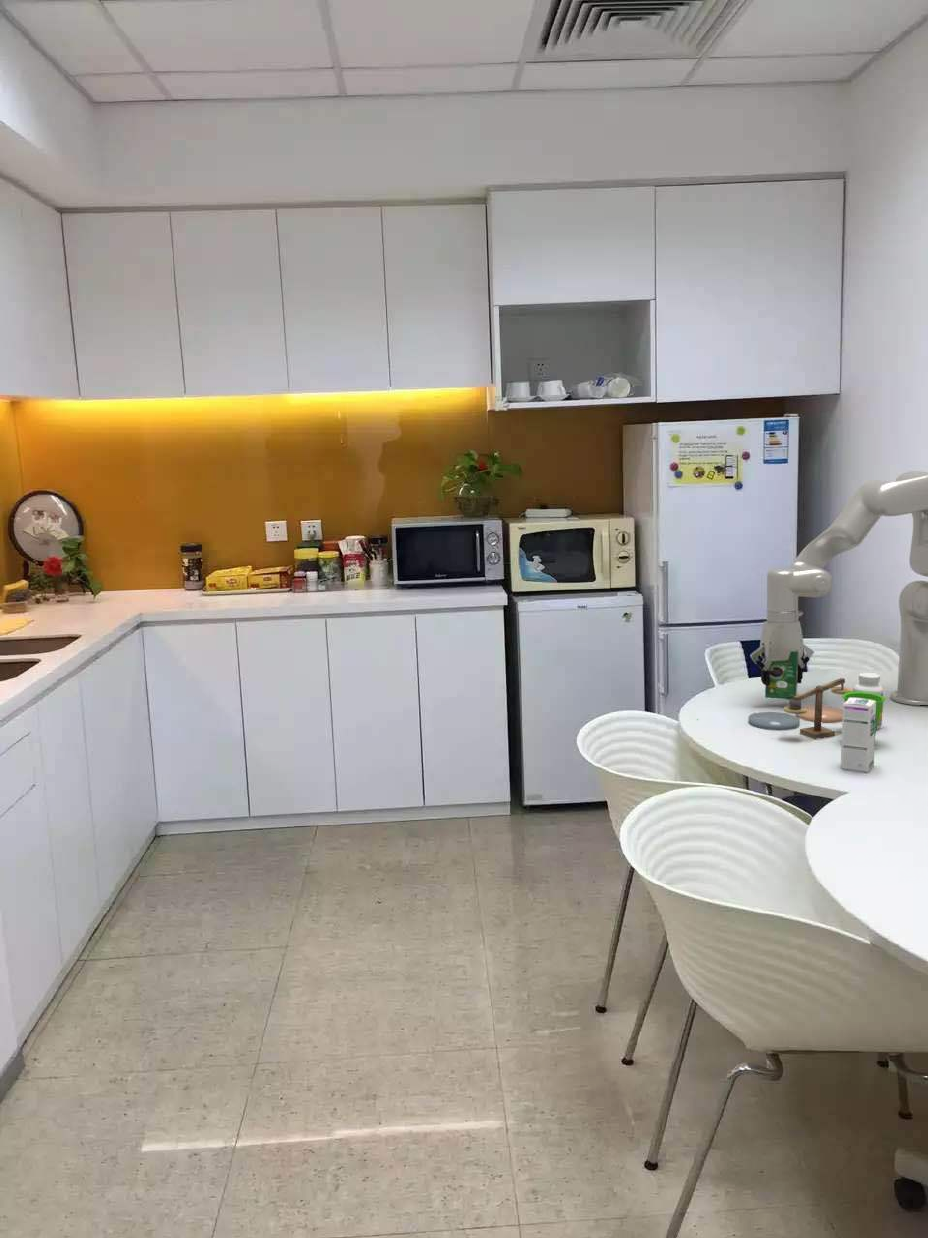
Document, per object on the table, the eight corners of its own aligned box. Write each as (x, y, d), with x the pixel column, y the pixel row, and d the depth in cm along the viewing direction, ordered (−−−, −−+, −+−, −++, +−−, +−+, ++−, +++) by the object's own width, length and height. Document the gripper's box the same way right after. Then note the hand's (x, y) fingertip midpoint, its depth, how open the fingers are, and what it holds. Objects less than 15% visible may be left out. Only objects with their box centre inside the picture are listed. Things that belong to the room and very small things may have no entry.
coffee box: (798, 697, 260) (799, 648, 258) (796, 700, 258) (797, 650, 256) (767, 695, 264) (767, 646, 262) (764, 698, 262) (765, 649, 259)
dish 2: (832, 708, 259) (832, 704, 258) (855, 721, 247) (855, 716, 247) (787, 710, 257) (788, 706, 257) (808, 723, 246) (808, 719, 246)
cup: (881, 739, 233) (883, 693, 231) (883, 750, 224) (886, 703, 222) (839, 736, 236) (842, 690, 234) (840, 747, 227) (842, 700, 225)
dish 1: (787, 715, 253) (787, 710, 253) (807, 729, 242) (808, 724, 241) (741, 717, 252) (741, 713, 252) (759, 731, 240) (760, 726, 240)
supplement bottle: (884, 731, 239) (887, 678, 236) (854, 730, 240) (857, 678, 238) (878, 723, 245) (881, 672, 243) (849, 722, 246) (852, 671, 244)
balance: (840, 727, 242) (843, 674, 240) (856, 732, 238) (858, 679, 236) (778, 737, 236) (780, 683, 233) (792, 743, 231) (794, 688, 229)
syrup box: (868, 773, 210) (872, 705, 208) (839, 768, 213) (842, 702, 211) (874, 765, 215) (877, 699, 212) (845, 761, 218) (848, 696, 215)
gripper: (808, 612, 262) (807, 677, 265) (743, 616, 260) (743, 682, 263) (821, 617, 254) (820, 684, 257) (755, 621, 253) (754, 689, 256)
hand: (781, 683), depth 260 cm, fingers closed on coffee box, 7 cm apart
